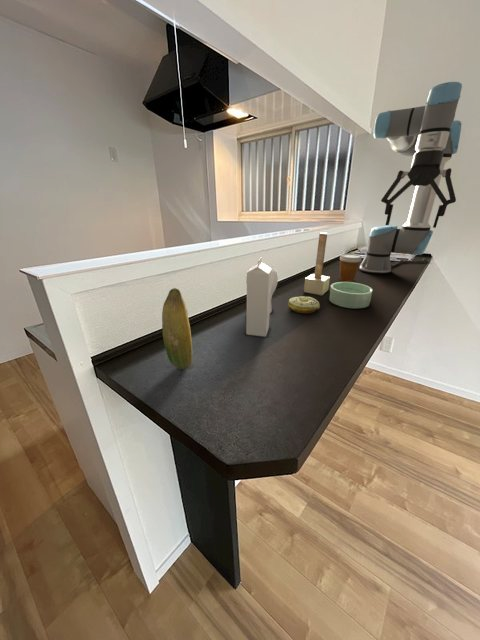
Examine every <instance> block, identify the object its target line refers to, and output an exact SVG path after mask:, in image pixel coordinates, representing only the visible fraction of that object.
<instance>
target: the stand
mask: <svg viewBox="0 0 480 640" xmlns="http://www.w3.org/2000/svg"><path fill="white" fill-rule="evenodd" d="M314 275H315V273H311V274H310V275H308V276H307V277H305V279H304V287H303V293H308V294H313V295H318V296H323V295H325V293H326V292H328V291H329V286H330V280H331V276H326V275H322V277H321V279H317V278H314Z"/></svg>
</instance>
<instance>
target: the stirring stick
mask: <svg viewBox="0 0 480 640" xmlns="http://www.w3.org/2000/svg"><path fill="white" fill-rule="evenodd" d="M327 239H328V232H319V235H318V242H317V243H318V244H317V252H316V258H315V259H316V260H315V267H314V274H315V275H314V278H317V279H321V277H322V276H323V271H324V270H323V269H324V261H325V254H326V248H327Z"/></svg>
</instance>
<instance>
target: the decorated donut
mask: <svg viewBox="0 0 480 640" xmlns="http://www.w3.org/2000/svg"><path fill="white" fill-rule="evenodd" d="M288 307H289V308H290V310H292V311H293V312H295V313H298V314H313V313H314V312H316V311H317V310H319V309H320V302H319V301H318V300H317V299H316V298H314V297H311V296H303V295H301V296H294V297H291V298H290V299H288Z"/></svg>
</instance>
